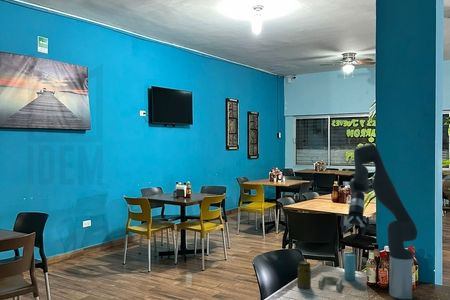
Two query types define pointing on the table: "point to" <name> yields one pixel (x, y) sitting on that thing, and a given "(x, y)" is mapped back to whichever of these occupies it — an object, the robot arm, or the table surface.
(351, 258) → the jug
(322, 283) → the holder
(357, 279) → the mat
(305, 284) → the condiment
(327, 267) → the table surface
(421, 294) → the table surface
